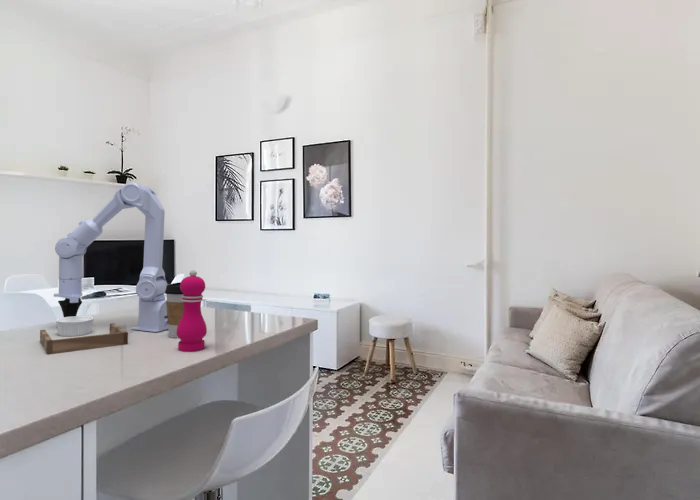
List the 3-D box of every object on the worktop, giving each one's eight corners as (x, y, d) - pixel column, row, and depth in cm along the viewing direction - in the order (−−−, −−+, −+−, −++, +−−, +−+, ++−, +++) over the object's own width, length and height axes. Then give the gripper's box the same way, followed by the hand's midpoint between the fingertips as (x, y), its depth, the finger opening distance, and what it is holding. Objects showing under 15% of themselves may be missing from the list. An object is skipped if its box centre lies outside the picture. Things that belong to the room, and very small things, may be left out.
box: (40, 341, 108) (40, 330, 108) (113, 333, 120) (113, 323, 120) (47, 354, 97) (47, 341, 97) (127, 343, 109) (127, 332, 108)
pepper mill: (181, 344, 109) (182, 268, 109) (209, 345, 110) (211, 269, 110) (171, 352, 102) (173, 270, 102) (202, 352, 103) (204, 271, 102)
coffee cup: (202, 334, 122) (203, 283, 122) (181, 340, 114) (182, 285, 114) (178, 331, 125) (179, 281, 124) (157, 337, 117) (158, 283, 116)
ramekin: (100, 332, 121) (100, 317, 121) (68, 338, 113) (68, 322, 113) (80, 329, 124) (80, 314, 124) (48, 334, 116) (48, 319, 116)
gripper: (50, 277, 128) (50, 321, 128) (57, 281, 117) (56, 329, 117) (78, 276, 132) (77, 319, 132) (87, 280, 121) (86, 326, 122)
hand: (69, 323), depth 125 cm, fingers closed
